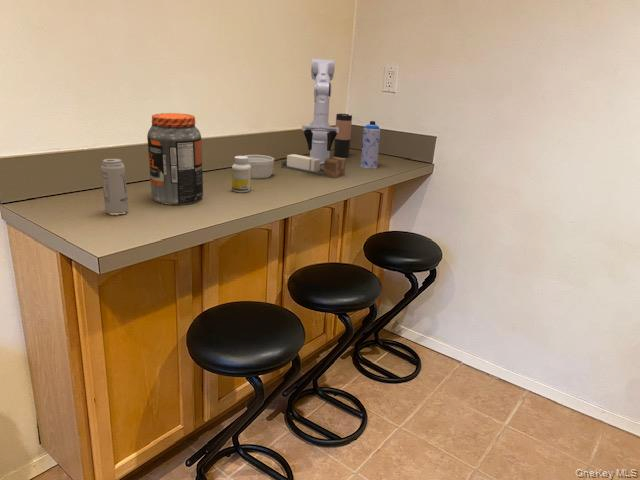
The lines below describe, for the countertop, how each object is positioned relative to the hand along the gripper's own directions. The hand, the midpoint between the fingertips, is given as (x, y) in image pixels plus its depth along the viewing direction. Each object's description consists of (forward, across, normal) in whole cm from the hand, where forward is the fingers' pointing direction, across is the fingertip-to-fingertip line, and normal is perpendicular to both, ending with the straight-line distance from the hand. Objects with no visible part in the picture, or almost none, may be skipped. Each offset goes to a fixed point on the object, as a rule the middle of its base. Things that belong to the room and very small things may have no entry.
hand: (319, 150), depth 189 cm
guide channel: (+9, -1, +13) cm, 16 cm away
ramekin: (+11, -24, +5) cm, 27 cm away
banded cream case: (+9, -2, +15) cm, 18 cm away
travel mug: (+4, +25, +42) cm, 49 cm away
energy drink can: (+18, -71, -38) cm, 82 cm away
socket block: (+10, +8, +3) cm, 13 cm away
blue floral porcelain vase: (+7, +30, +19) cm, 36 cm away
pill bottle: (+14, -33, -17) cm, 39 cm away
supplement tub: (+16, -54, -25) cm, 62 cm away
